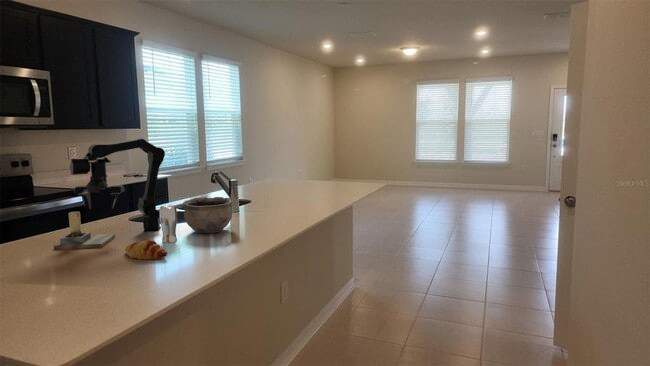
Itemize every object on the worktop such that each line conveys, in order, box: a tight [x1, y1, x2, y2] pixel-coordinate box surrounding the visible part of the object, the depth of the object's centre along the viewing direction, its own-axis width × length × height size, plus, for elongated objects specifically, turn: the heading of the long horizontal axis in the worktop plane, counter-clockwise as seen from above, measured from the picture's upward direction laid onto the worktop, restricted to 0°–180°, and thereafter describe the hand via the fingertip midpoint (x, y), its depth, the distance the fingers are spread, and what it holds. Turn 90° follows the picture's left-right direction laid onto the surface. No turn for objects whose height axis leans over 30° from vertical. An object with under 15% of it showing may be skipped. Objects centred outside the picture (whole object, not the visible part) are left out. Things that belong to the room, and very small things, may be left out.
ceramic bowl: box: [182, 196, 233, 234], centre depth 194 cm, size 22×22×15 cm
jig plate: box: [53, 231, 116, 250], centre depth 175 cm, size 18×16×4 cm
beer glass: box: [159, 204, 178, 244], centre depth 177 cm, size 7×7×15 cm
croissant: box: [124, 239, 168, 260], centre depth 157 cm, size 21×10×8 cm, turn 66°
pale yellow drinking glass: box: [68, 211, 82, 237], centre depth 171 cm, size 4×4×12 cm
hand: (101, 208), depth 182 cm, fingers open, 9 cm apart
